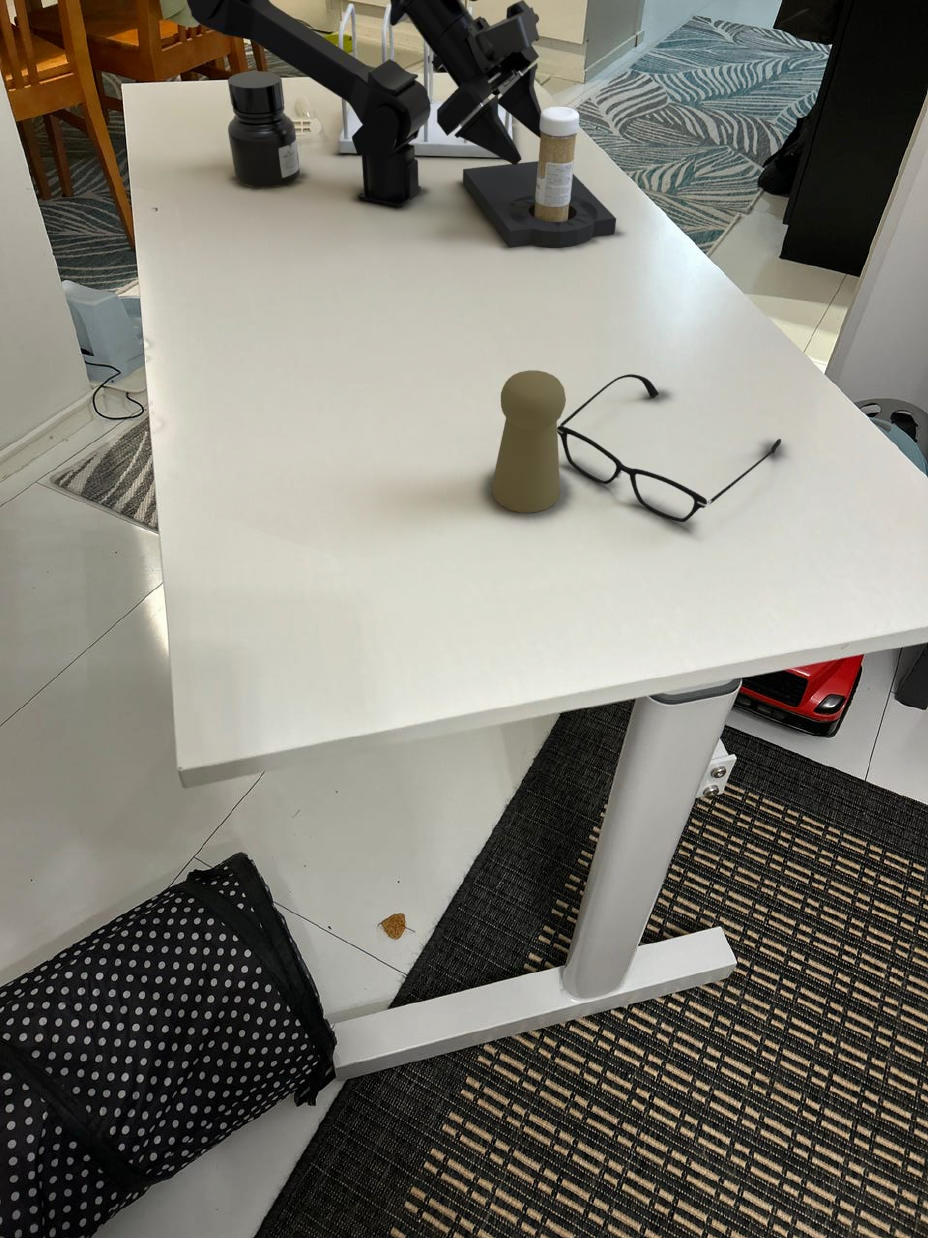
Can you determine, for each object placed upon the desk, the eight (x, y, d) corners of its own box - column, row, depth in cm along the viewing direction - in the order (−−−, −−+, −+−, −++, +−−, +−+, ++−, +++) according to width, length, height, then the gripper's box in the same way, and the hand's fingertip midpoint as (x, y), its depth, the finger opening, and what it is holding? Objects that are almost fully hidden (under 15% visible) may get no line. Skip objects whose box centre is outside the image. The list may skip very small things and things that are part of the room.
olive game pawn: (512, 520, 76) (520, 409, 68) (479, 480, 79) (482, 370, 71) (573, 500, 78) (587, 389, 70) (537, 461, 81) (547, 352, 73)
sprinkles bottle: (533, 218, 116) (541, 103, 107) (568, 220, 116) (580, 105, 106) (531, 233, 113) (539, 117, 103) (567, 235, 113) (579, 119, 103)
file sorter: (339, 154, 130) (328, 29, 119) (352, 113, 142) (343, -5, 130) (512, 158, 130) (518, 33, 118) (510, 116, 142) (516, -1, 130)
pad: (462, 183, 124) (462, 168, 122) (557, 173, 127) (559, 158, 125) (513, 253, 110) (514, 236, 108) (619, 239, 112) (621, 223, 111)
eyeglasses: (543, 459, 82) (547, 422, 79) (642, 388, 90) (648, 352, 87) (700, 542, 74) (710, 504, 71) (792, 456, 82) (804, 419, 79)
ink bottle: (304, 187, 122) (293, 89, 113) (238, 193, 121) (222, 93, 112) (296, 160, 128) (285, 65, 120) (233, 165, 127) (217, 69, 118)
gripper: (463, -3, 92) (554, 131, 98) (528, -41, 104) (606, 80, 109) (397, 72, 100) (485, 192, 105) (464, 29, 112) (540, 139, 117)
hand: (532, 148), depth 109 cm, fingers open, 9 cm apart
